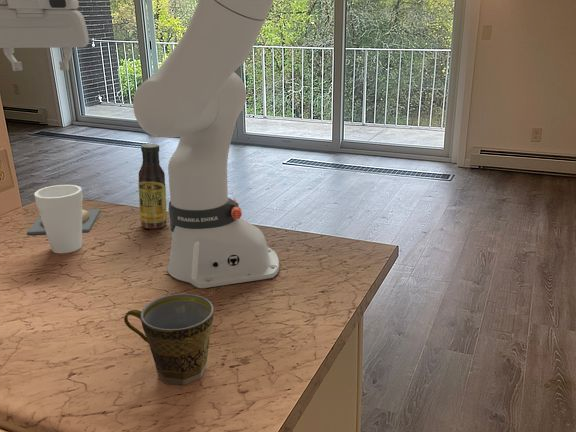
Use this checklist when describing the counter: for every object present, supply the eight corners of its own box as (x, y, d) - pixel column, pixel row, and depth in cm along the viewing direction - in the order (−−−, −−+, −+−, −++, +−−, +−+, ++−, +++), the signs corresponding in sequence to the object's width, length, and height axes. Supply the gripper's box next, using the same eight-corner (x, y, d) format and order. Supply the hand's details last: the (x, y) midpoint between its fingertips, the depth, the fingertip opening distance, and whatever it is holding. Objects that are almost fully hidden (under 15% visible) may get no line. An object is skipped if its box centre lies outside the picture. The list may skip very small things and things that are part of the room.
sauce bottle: (138, 230, 132) (130, 148, 125) (144, 220, 137) (136, 142, 130) (166, 230, 132) (159, 148, 125) (170, 220, 137) (164, 142, 131)
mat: (100, 211, 144) (100, 209, 144) (89, 231, 131) (89, 229, 131) (44, 213, 142) (43, 211, 142) (27, 234, 129) (26, 231, 129)
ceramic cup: (224, 354, 84) (222, 296, 81) (204, 397, 75) (200, 333, 72) (143, 346, 86) (137, 289, 83) (114, 387, 77) (106, 324, 74)
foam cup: (79, 256, 118) (71, 198, 113) (36, 256, 118) (26, 198, 113) (95, 239, 127) (87, 184, 122) (54, 238, 127) (46, 184, 122)
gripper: (-31, -1, 107) (-17, 72, 112) (79, -1, 110) (88, 71, 115) (-18, -1, 113) (-6, 69, 118) (85, 0, 116) (94, 68, 121)
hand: (41, 70), depth 116 cm, fingers open, 8 cm apart
